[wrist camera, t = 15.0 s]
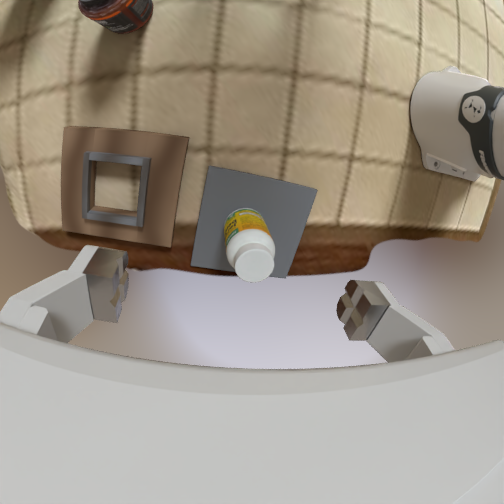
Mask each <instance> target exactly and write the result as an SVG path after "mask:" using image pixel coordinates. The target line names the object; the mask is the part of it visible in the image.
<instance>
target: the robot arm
mask: <svg viewBox="0 0 504 504" xmlns="http://www.w3.org/2000/svg"><path fill="white" fill-rule="evenodd" d="M411 122H412V127H413V131H414V134H415V136H416V139H417V141H418V143H419V145H420V148H421V152H422V161H423V165H424V167H425V168H426V169H428V170H432V171H436V172H440V173H444V174H448V175H452V176H456V177H460V178H463V179H467V180H471V181H476V180H477V179H478V178H479V176H480V175H483V176H486V177H488V178H493V177H495V178H497V179H502V180H504V88H503V87H499V86H491V85H490V83H489V82H488V81H487V80H486V79H484V78H481V77H477V76H473V75H468V74H463V73H461V72H460V71H459V70H458V69H457V68H456V67H453V66H448V67H447V68H445V69H444V70H443V71H440V72H430V73H427V74H426V75H424V76H423V77H422V78H421V79H420V80H419V81H418V83H417V84H416V86H415V88H414V91H413V94H412V99H411ZM434 163H435V164H434ZM127 264H128V254H127V252H126V251H121V250H115V249H109V248H103V247H98V246H90V245H86V246H84V248H83V249H82V251H81V252H80V253H79V255H78V256H77V258H76V259H75V261H74V262H73V263H72V265H71V267H70V268H69V269H68V271H66V270H63V271H61V272H59V273H57V274H55V275H53V276H51V277H49V278H46V279H44V280H43V281H41V282H39V283H37V284H35V285H33V286H31V287H29V288H27V289H25V290H23V291H21V292H19V293H17V294H15V295H14V296H12V297H10V298H9V300H8V301H7V303H6V304H5V306H4V307H3V309H2V310H1V312H0V504H504V342H503V341H501V340H495V341H492V342H488V343H484V344H480V345H477V346H473V347H469V348H464V349H461V350H456V351H455V349H454V348H453V347H452V345H451V344H450V342H449V341H448V339H447V338H446V336H445V335H444V334H443V333H442V332H441V331H439V330H437V329H436V328H435V327H433V326H432V325H430V324H429V323H427V322H426V321H424V320H423V319H421V318H420V317H419V316H417V315H416V314H414V313H412V312H411V311H410V310H408V309H407V308H405V307H404V306H400V304H399V303H398V302H397V300H396V299H395V298H394V296H393V295H392V294H391V292H390V291H389V290H388V288H387V287H386V286H385V285H384V283H382V282H374V281H357V280H350V281H349V282H348V283H347V285H346V287H345V291H346V293H345V294H344V295H343V296H341V297H340V299H339V301H338V304H337V316H338V318H339V320H340V321H341V322H343V323H344V324H345V325H344V330H345V332H346V334H347V336H348V338H349V340H367V342H368V343H369V344H370V345H371V346H372V347H373V348H374V349H375V350H376V351H377V352H378V353H379V354H380V355H381V356H382V357H383V358H384V359H385V360H386V361H387V362H388V363H380V364H371V365H361V366H349V367H334V368H315V369H242V368H223V367H208V366H197V365H187V364H177V363H168V362H160V361H154V360H146V359H141V358H134V357H128V356H122V355H117V354H112V353H107V352H102V351H97V350H93V349H88V348H84V347H80V346H76V345H72V344H68V342H69V341H70V340H72V339H73V338H74V337H75V336H76V335H77V334H79V333H80V332H81V331H82V330H83V329H84V328H85V327H87V326H88V325H89V324H90V323H91V322H93V321H94V319H96V320H101V321H107V322H114V323H117V322H118V319H119V316H120V313H121V310H122V306H121V302H123V301H124V300H125V298H126V295H127V290H128V281H129V280H128V279H129V278H128V273H127V271H126V270H125V269H126V267H127Z"/></svg>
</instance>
